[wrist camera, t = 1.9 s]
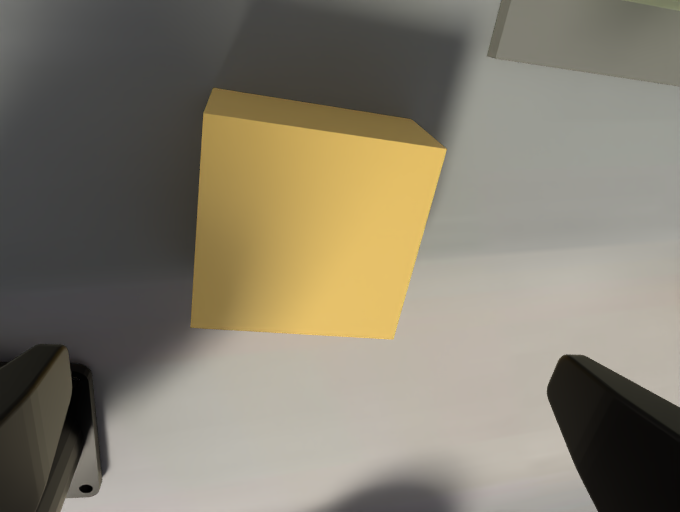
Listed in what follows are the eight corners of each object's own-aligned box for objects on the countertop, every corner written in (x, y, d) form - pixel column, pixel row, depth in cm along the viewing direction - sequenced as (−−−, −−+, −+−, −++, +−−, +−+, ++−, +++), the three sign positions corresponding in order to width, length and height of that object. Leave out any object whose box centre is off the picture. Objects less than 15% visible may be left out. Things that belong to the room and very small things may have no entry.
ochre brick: (370, 281, 18) (393, 339, 15) (201, 266, 17) (190, 327, 14) (409, 117, 16) (446, 149, 13) (213, 86, 15) (203, 113, 11)
